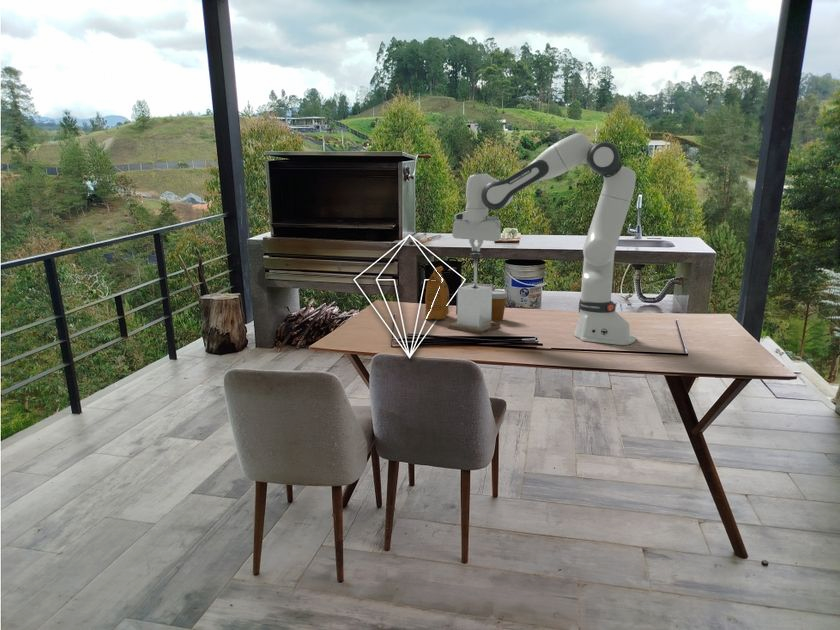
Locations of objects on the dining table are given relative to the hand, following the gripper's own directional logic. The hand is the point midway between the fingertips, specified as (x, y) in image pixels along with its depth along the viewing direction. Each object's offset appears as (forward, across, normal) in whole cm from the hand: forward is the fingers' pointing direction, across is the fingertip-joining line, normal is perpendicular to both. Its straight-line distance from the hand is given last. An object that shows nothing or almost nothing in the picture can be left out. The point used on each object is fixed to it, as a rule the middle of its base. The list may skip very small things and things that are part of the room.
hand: (475, 251), depth 237 cm
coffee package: (+31, +22, -6) cm, 39 cm away
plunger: (+19, 0, 0) cm, 19 cm away
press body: (+31, 0, 0) cm, 31 cm away
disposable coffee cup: (+31, 0, -18) cm, 36 cm away
